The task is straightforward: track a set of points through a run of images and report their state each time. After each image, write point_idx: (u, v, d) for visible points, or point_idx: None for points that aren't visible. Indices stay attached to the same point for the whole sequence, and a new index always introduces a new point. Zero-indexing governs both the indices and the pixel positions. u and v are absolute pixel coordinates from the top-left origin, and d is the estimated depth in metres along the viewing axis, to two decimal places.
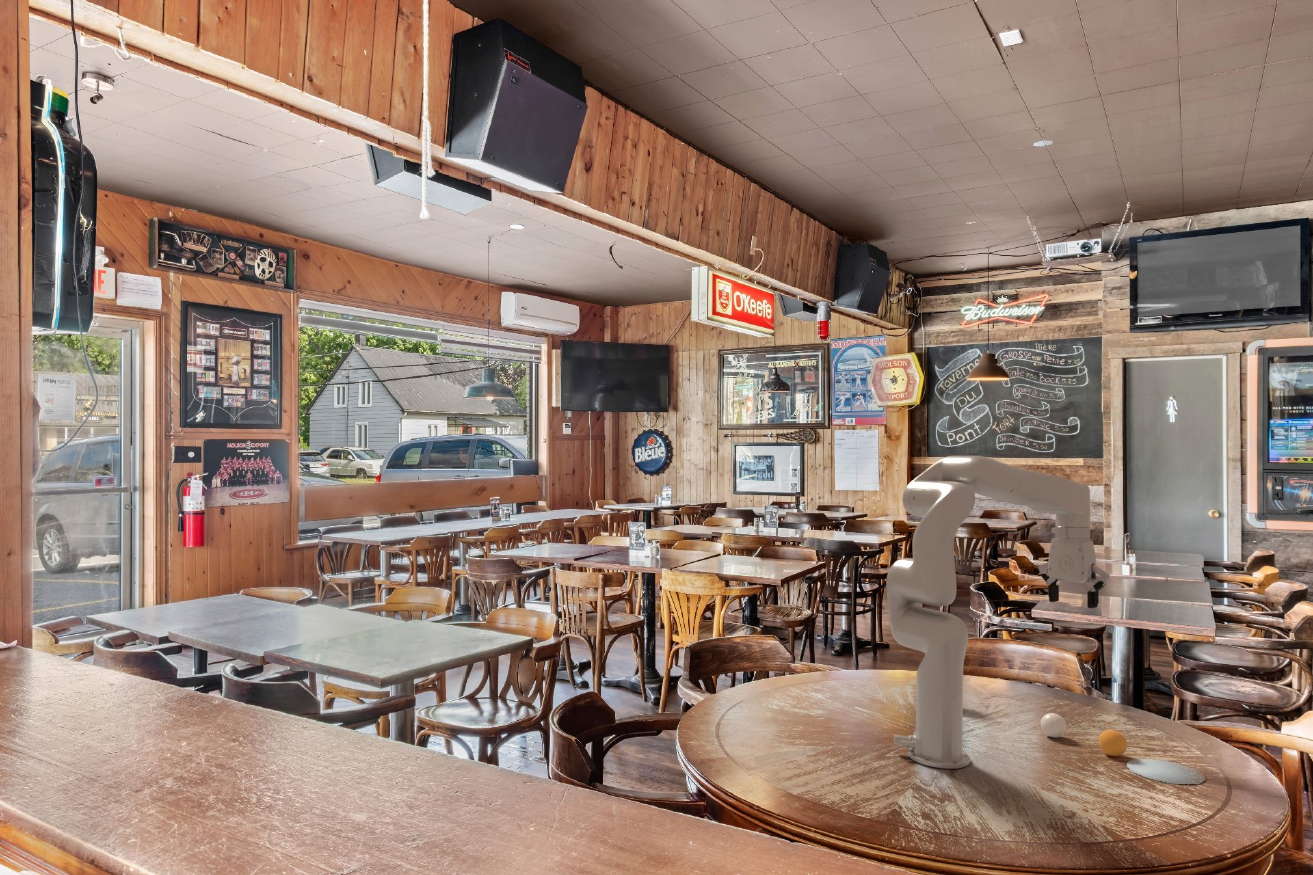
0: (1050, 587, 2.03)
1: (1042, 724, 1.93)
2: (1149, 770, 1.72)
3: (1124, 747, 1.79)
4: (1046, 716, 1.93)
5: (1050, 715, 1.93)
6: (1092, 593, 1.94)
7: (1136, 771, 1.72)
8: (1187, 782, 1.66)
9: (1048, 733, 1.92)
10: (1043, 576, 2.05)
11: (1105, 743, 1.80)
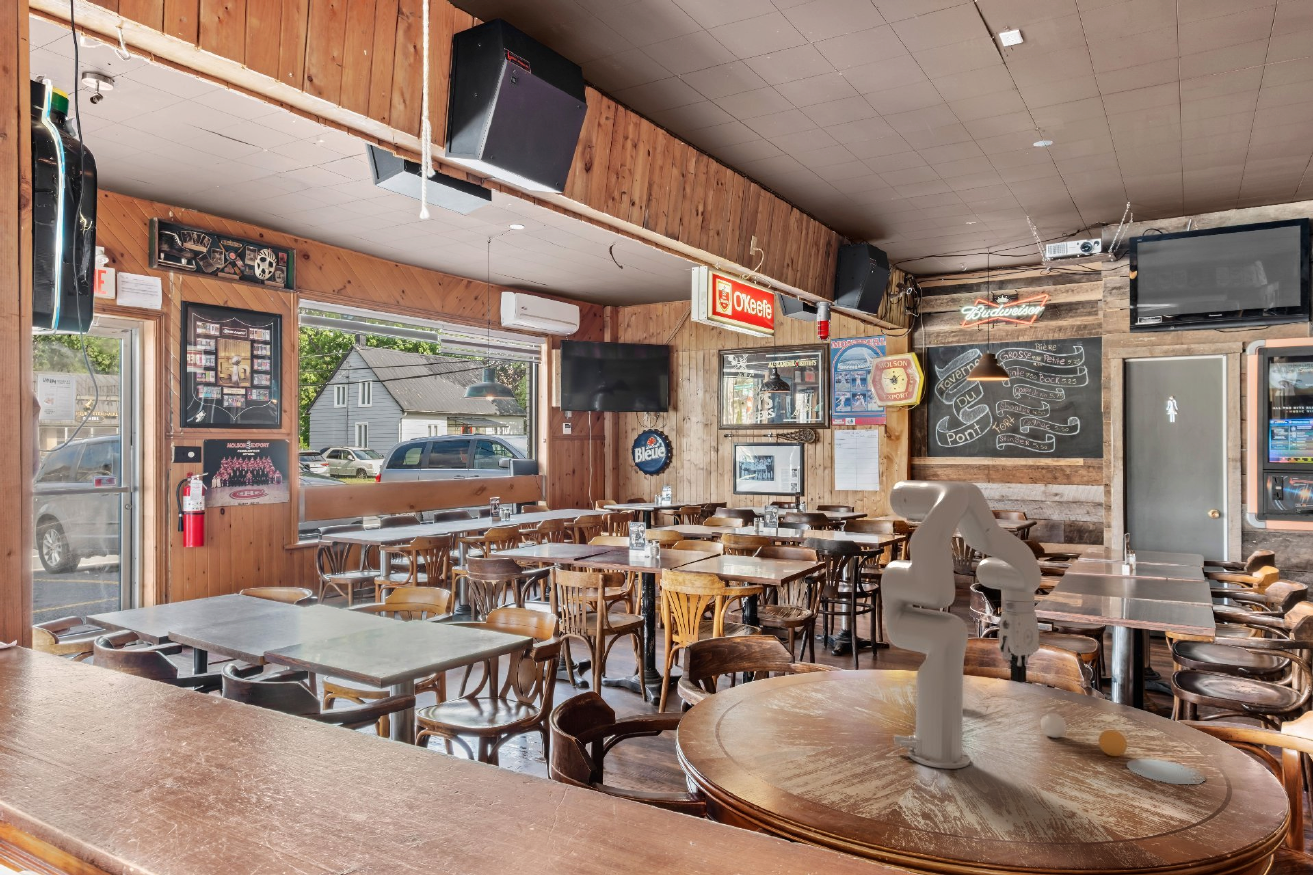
0: (1022, 668, 2.01)
1: (1042, 724, 1.93)
2: (1149, 770, 1.72)
3: (1124, 747, 1.79)
4: (1046, 716, 1.93)
5: (1050, 715, 1.93)
6: None
7: (1136, 771, 1.72)
8: (1187, 782, 1.66)
9: (1048, 733, 1.92)
10: (1014, 658, 2.00)
11: (1105, 743, 1.80)
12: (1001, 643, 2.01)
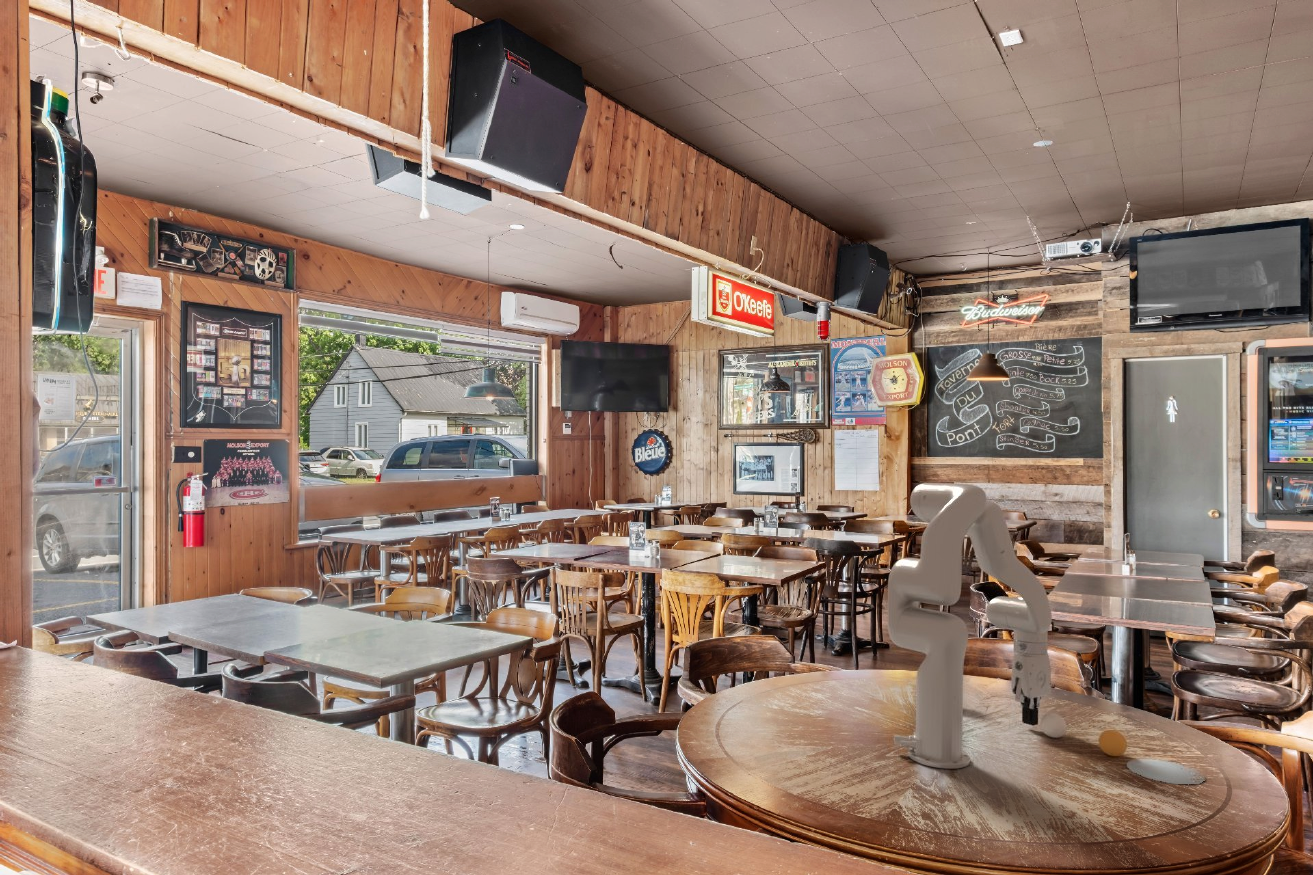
0: (1035, 710, 1.97)
1: (1042, 724, 1.93)
2: (1149, 770, 1.72)
3: (1124, 747, 1.79)
4: (1046, 716, 1.93)
5: (1050, 715, 1.93)
6: None
7: (1136, 771, 1.72)
8: (1187, 782, 1.66)
9: (1048, 733, 1.92)
10: (1027, 701, 1.97)
11: (1105, 743, 1.80)
12: (1013, 685, 1.97)
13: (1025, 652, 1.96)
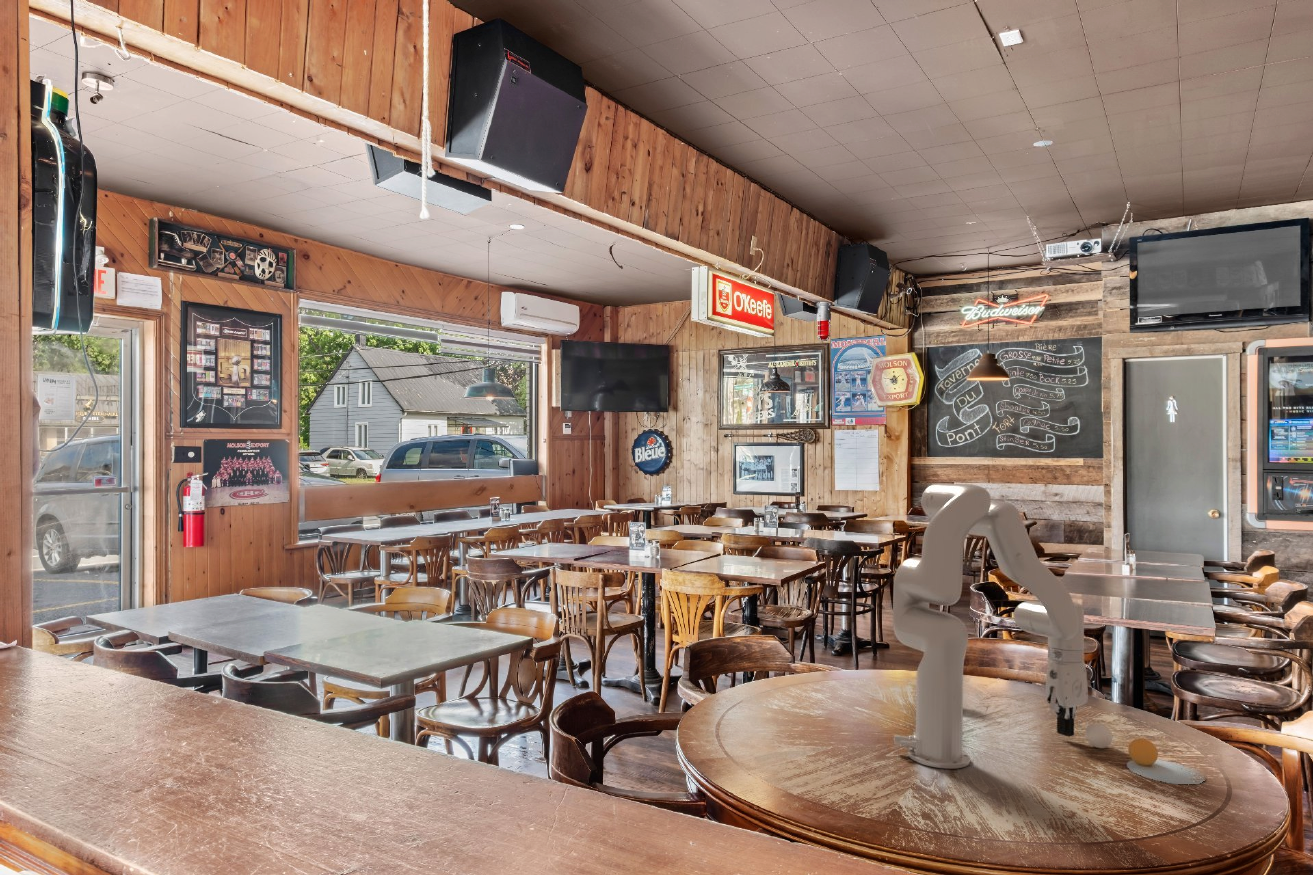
0: (1070, 720, 1.90)
1: (1102, 735, 1.84)
2: (1149, 770, 1.72)
3: None
4: (1098, 743, 1.85)
5: (1094, 744, 1.85)
6: None
7: (1136, 771, 1.72)
8: (1187, 782, 1.66)
9: (1097, 726, 1.86)
10: (1062, 711, 1.89)
11: (1138, 755, 1.74)
12: (1048, 694, 1.90)
13: (1060, 660, 1.89)
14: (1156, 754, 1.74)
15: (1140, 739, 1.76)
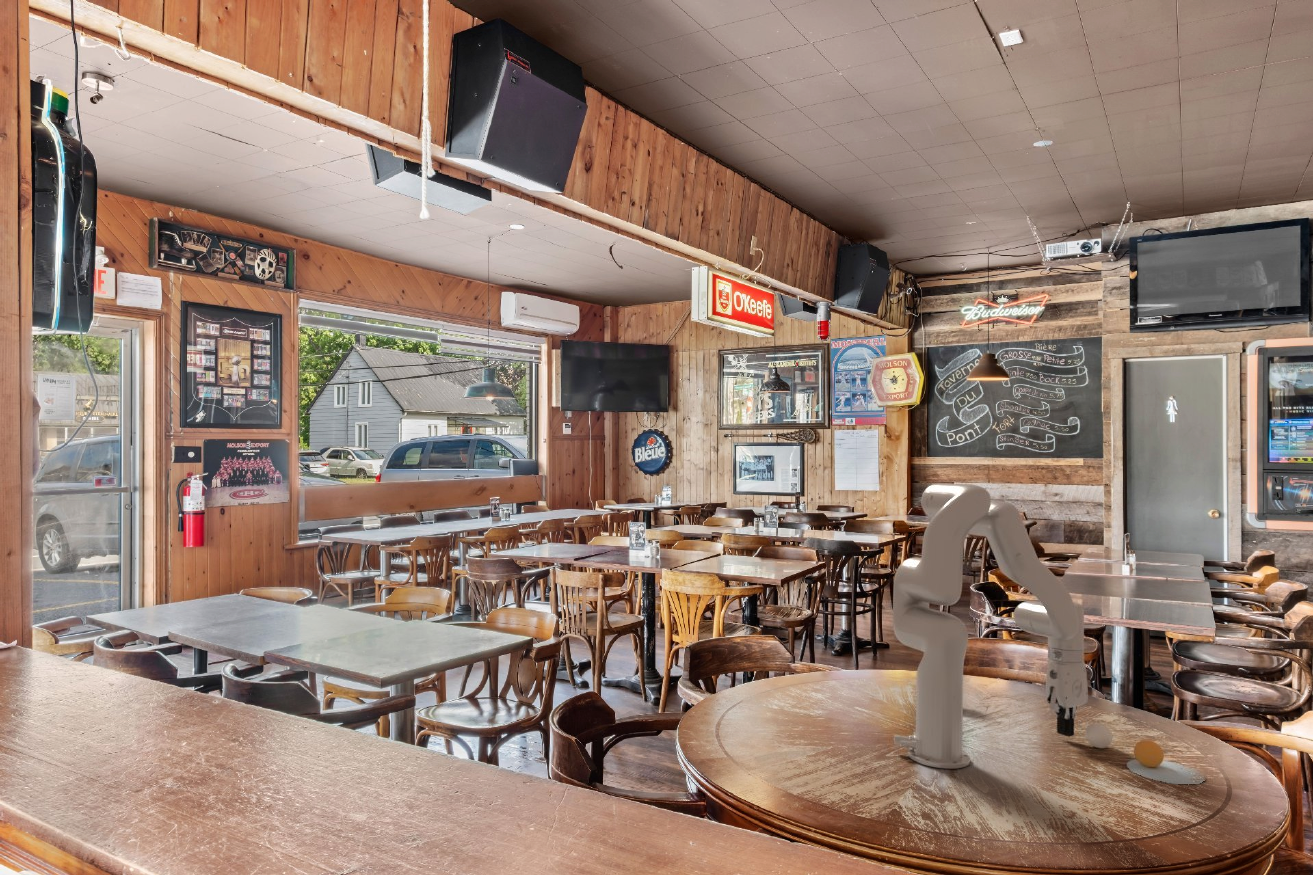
0: (1070, 720, 1.90)
1: (1102, 735, 1.84)
2: (1149, 770, 1.72)
3: None
4: (1098, 743, 1.85)
5: (1094, 744, 1.85)
6: None
7: (1136, 771, 1.72)
8: (1187, 782, 1.66)
9: (1097, 726, 1.86)
10: (1062, 711, 1.89)
11: (1143, 757, 1.74)
12: (1048, 694, 1.90)
13: (1060, 660, 1.89)
14: (1161, 761, 1.73)
15: (1151, 743, 1.74)
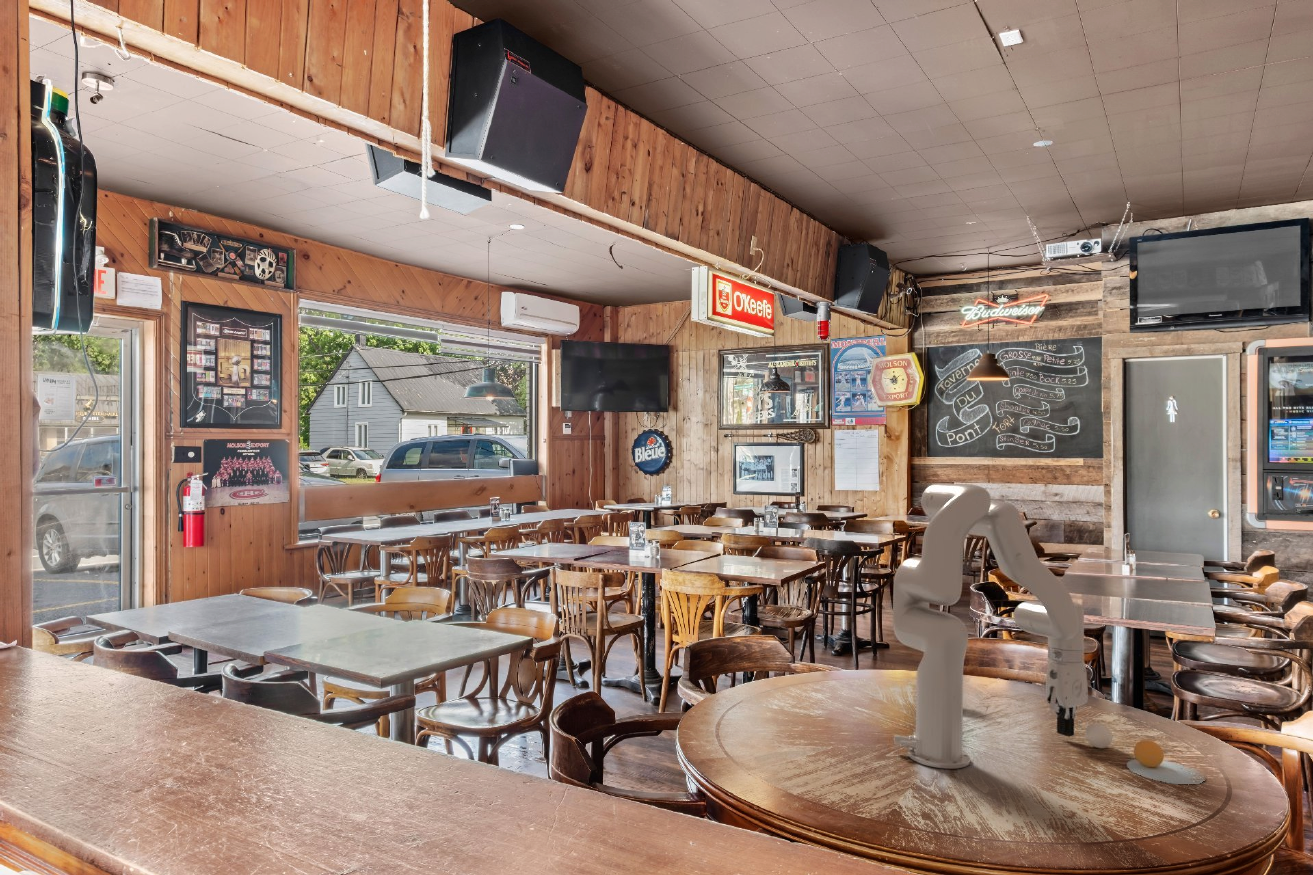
0: (1070, 720, 1.90)
1: (1102, 735, 1.84)
2: (1149, 770, 1.72)
3: None
4: (1098, 743, 1.85)
5: (1094, 744, 1.85)
6: None
7: (1136, 771, 1.72)
8: (1187, 782, 1.66)
9: (1097, 726, 1.86)
10: (1062, 711, 1.89)
11: (1143, 757, 1.74)
12: (1048, 694, 1.90)
13: (1060, 660, 1.89)
14: (1161, 761, 1.73)
15: (1151, 743, 1.74)
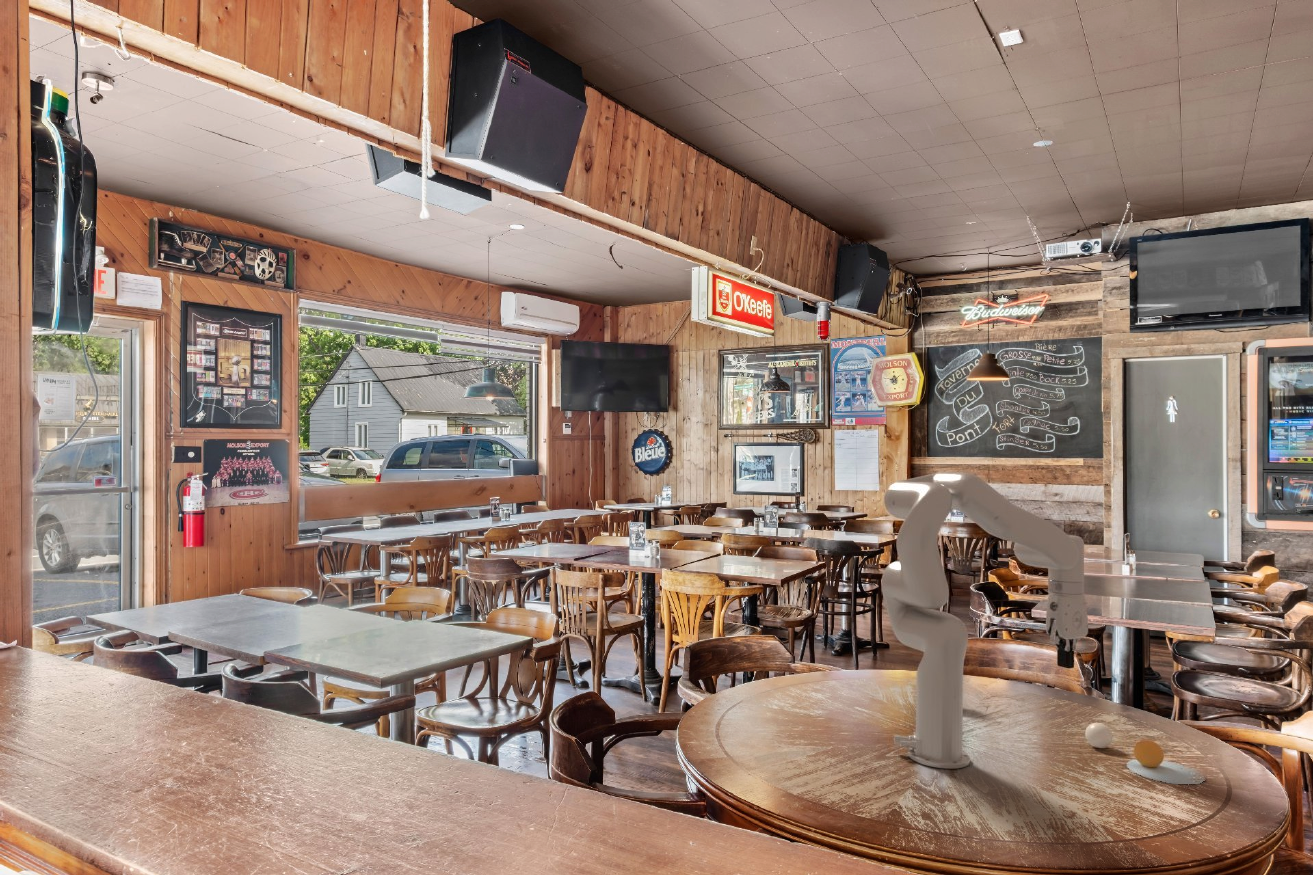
0: (1070, 653, 1.90)
1: (1102, 735, 1.84)
2: (1149, 770, 1.72)
3: None
4: (1098, 743, 1.85)
5: (1094, 744, 1.85)
6: None
7: (1136, 771, 1.72)
8: (1187, 782, 1.66)
9: (1097, 726, 1.86)
10: (1062, 643, 1.89)
11: (1143, 757, 1.74)
12: (1048, 626, 1.90)
13: (1060, 592, 1.89)
14: (1161, 761, 1.73)
15: (1151, 743, 1.74)
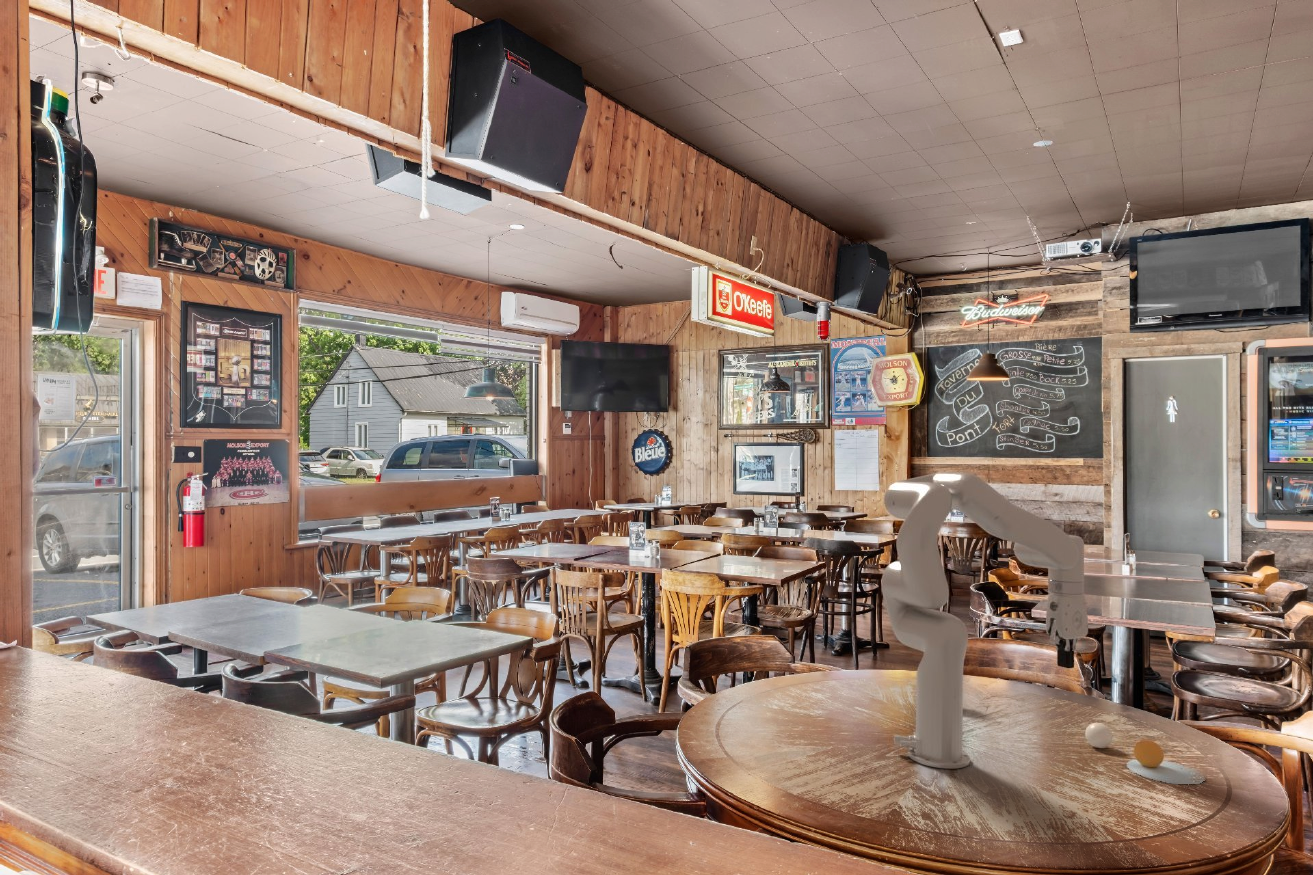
0: (1070, 652, 1.90)
1: (1102, 735, 1.84)
2: (1149, 770, 1.72)
3: None
4: (1098, 743, 1.85)
5: (1094, 744, 1.85)
6: None
7: (1136, 771, 1.72)
8: (1187, 782, 1.66)
9: (1097, 726, 1.86)
10: (1062, 643, 1.89)
11: (1143, 757, 1.74)
12: (1048, 626, 1.90)
13: (1060, 592, 1.89)
14: (1161, 761, 1.73)
15: (1151, 743, 1.74)
